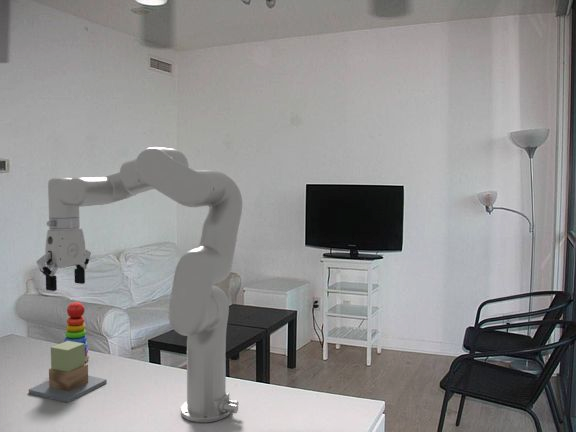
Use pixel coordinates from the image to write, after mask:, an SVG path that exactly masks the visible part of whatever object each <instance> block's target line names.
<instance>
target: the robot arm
mask: <svg viewBox="0 0 576 432" xmlns="http://www.w3.org/2000/svg"><path fill="white" fill-rule="evenodd" d="M151 190H156V191H158V192H159V193H161V194H162V195H163V196H166V197H167V198H169V199H170V200H172V201H174V202H176V203H178V204H180V205H181V206H184V207H188V208H200V207H208V212H207V215H206V217H205V220H204V221H203V224H202V229H201V236H200V240H199V245H198V246H197V247H195V248H193V249H190V250H188V251H186V252H185V253H184V254H183V255H182V256H181V257H180V259H179V260H178V263H177V264H176V267H175V271H174V275H173V280H172V281H173V282H172V287H171V292H170V299H169V304H168V305H169V306H168V320H169V323H170V326H171V327H172V329H173V330H174V331H175V333H177V334H179V335H181V336H184V337H185V336H186V337H187V339H186V401H185V402H184V403H183V404H182V405H181V407H180V415H181V416H182V417H183V418H184V419H185V420H187V421H190V422H193V423H213V422H216V421H220V420H223V419H224V418H227V417H228V416H229V415H230V414H237V413H238V411H239V401H238V400H232V399H231V398H230V392H227V391H226V386H227V385H226V383H227V382H226V380H227V379H226V377H227V375H226V373H227V372H226V371H227V370H226V367H227V366H226V362H227V361H226V360H227V358H226V349H227V346H226V345H227V328H228V321H229V314H230V313H229V311H230V304H229V303H230V302H229V299H228V296H227V294H226V292H225V291H224V290H223V289H221V288H220V287H219V286H216V285H217V284H219V283H221V282H223V281H225V280H226V279H227V278H228V276H229V275H230V274H231V271H232V267H233V263H234V256H235V251H236V245H237V242H238V241H237V240H238V233H239V226H240V223H241V219H242V214H243V213H242V212H243V197H242V193H241V191H240V188H239V186H238V185H237V183H236V182H235V181H234V180H233V179H232V178H231V176H229V175H228V174H225V173H223V172H221V171H217V170H213V169H212V170H210V169H206V170H204V169H202V170H201V169H200V170H198V169H196V170H195V169H193V168H191V167H189V161H188V159H187V157H186V155H185V154H184V153H183V152H181V151H180V150H178V149H175V148H169V147H168V148H167V147H159V146H153V147H148V148H145V149H143V150H142V151H141V152H140V153H139V154H138V155H137V157H136V158H134V159H131V160H127V161H125V162H124V163H122V164H121V166H120V169H119V172H116V173H113V174H110V175H107V176H93V177H92V176H87V177H74V178H72V177H54V178H50V179H49V180H48V183H47V191H48V193H47V194H48V195H47V197H48V221H46V226H47V227H48V229H47V233H46V240H45V254H44V255H42V256H41V257H40V258H39V259H38V260H36V264H37V266H38V268H39V271H40V272H41V273H42V274H43V275H42V276H45V290H46V291H52V292H56V291H57V290H58V289H57V288H58V287H57V286H58V285H57V284H58V283H57V281H58V279H57V275H56V272H57V271H58V269H59V268H60V269H64V268H65V269H66V268H69V267H75V268H74V271H73V272H74V284H81V285H84V284H85V283H86V271H85V270H86V269H87V268H88V267H87V266H88V264H89V262H90V258H91V254H92V253H91V251H90V250H87V249H86V243H85V236H84V232H83V228H82V227H80V207H92V206H103V205H109V204H113V203H116V202H119V201H122V200H127V199H129V198H132V197H134V196H136V195H138V194H141V193H145V192H148V191H151Z"/></svg>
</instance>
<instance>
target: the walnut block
mask: <svg viewBox="0 0 576 432" xmlns="http://www.w3.org/2000/svg"><path fill="white" fill-rule="evenodd" d="M88 376H89V364H88V363H87V364H86V363H85V365H83V366H81V367H79V368H76V369H74V370H72V371H70V372H65V371H60V370H55V369H51V367H49V368H48V378H49V379H48V381H49V387H53V388H57V389H61V390H65V391H70V390H72V389H74V388H77V387H79V386H81V385H83V384H85V383H87V382H88Z"/></svg>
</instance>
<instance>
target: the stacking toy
mask: <svg viewBox="0 0 576 432" xmlns="http://www.w3.org/2000/svg"><path fill="white" fill-rule="evenodd" d="M66 313H67V315H68V316H69V317H68V318H67V320H66V323H67V325H66V328H65V330H66V331H65V338H64V340H63V342H66V341H72V342H78V343H84V349H85V363H86V362H87V361H88V360H89V359H90V356H89V348H88V342H87V335H86V334H87V331H86V329H85V328H86V324H84V322H85V318H84V317H83V315H84V314H85V306H84V304H83V303H81V302H78V301H74V302H72V303H70V304H68V306H67V308H66Z"/></svg>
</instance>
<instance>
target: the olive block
mask: <svg viewBox="0 0 576 432" xmlns="http://www.w3.org/2000/svg"><path fill="white" fill-rule="evenodd" d="M50 363H51V364H50V368H51V369H55V370H60V371H65V372H70V371H72V370H74V369H76V368H79V367H81V366H83V365H85V364H86V362H85V349H84V343H78V342H72V341H66V342H64V341H63V342H61V343H58V344H55V345H52V346H50Z"/></svg>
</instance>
